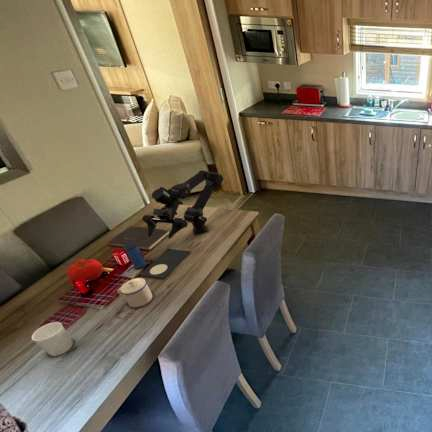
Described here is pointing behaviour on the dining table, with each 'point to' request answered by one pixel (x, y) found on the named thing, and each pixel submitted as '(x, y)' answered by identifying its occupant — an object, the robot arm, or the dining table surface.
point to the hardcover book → (139, 237)
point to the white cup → (53, 338)
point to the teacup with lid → (136, 292)
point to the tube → (135, 255)
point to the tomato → (85, 270)
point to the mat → (165, 264)
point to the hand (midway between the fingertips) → (159, 237)
